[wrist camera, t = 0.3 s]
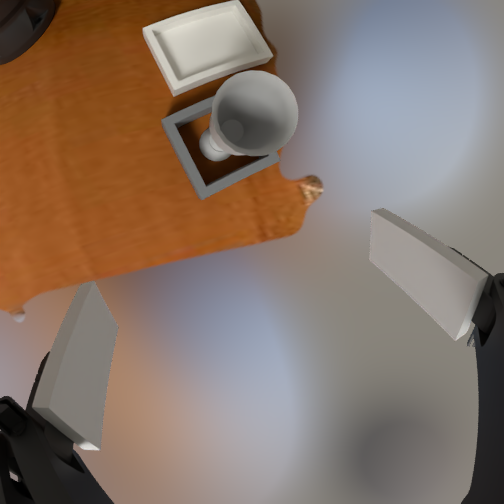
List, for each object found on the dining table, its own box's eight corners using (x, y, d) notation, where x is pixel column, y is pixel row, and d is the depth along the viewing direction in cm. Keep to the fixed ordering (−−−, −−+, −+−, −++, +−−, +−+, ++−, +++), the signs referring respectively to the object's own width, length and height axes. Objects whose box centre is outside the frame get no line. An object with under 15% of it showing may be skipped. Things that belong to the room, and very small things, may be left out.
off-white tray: (143, 37, 28) (142, 28, 25) (234, 8, 30) (238, -1, 27) (173, 96, 32) (174, 90, 29) (266, 62, 34) (273, 55, 32)
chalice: (207, 110, 34) (239, 56, 17) (250, 132, 36) (311, 97, 20) (183, 156, 35) (194, 131, 18) (227, 177, 37) (275, 172, 20)
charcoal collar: (162, 126, 33) (161, 119, 29) (236, 93, 34) (243, 84, 31) (198, 198, 37) (202, 200, 33) (270, 162, 38) (280, 160, 34)
